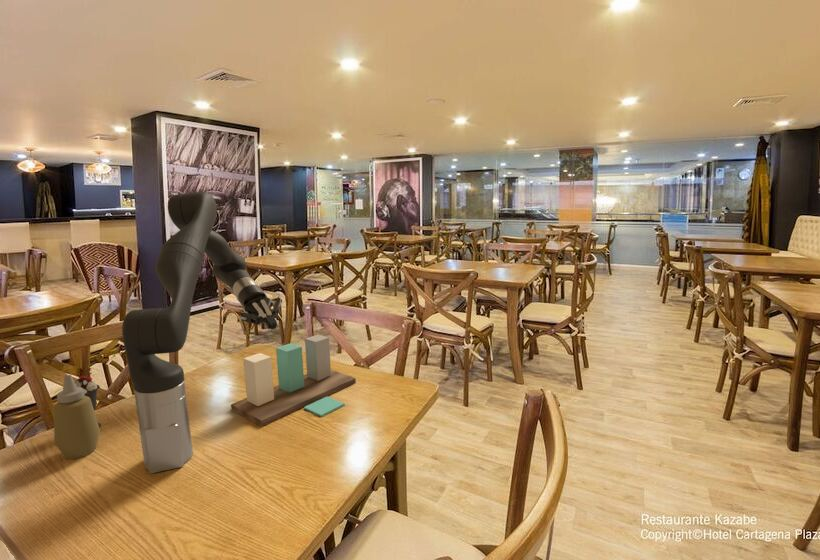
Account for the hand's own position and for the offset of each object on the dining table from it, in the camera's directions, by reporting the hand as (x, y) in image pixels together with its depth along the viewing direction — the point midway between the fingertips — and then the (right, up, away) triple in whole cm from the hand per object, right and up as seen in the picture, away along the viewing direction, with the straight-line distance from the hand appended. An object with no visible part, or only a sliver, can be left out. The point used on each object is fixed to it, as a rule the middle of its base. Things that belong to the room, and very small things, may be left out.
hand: (273, 326), depth 128 cm
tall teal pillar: (+5, -17, -1) cm, 18 cm away
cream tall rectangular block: (-1, -19, -9) cm, 21 cm away
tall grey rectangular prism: (+12, -16, +6) cm, 20 cm away
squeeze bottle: (-34, -25, -29) cm, 51 cm away
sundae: (-39, -23, -19) cm, 49 cm away
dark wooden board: (+7, -19, -2) cm, 21 cm away
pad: (+16, -20, -9) cm, 28 cm away
